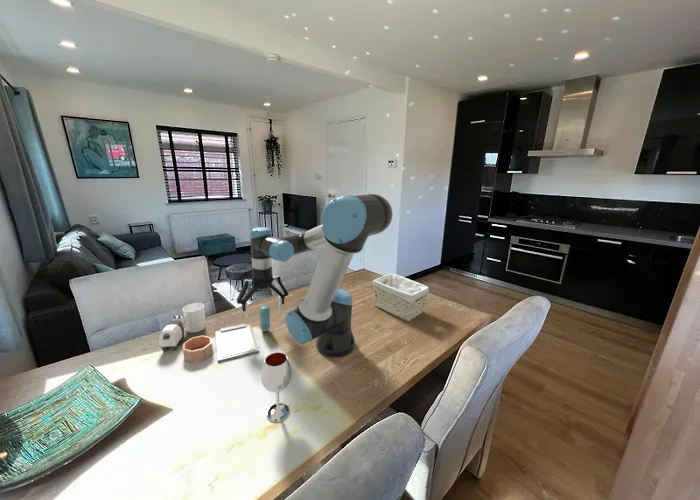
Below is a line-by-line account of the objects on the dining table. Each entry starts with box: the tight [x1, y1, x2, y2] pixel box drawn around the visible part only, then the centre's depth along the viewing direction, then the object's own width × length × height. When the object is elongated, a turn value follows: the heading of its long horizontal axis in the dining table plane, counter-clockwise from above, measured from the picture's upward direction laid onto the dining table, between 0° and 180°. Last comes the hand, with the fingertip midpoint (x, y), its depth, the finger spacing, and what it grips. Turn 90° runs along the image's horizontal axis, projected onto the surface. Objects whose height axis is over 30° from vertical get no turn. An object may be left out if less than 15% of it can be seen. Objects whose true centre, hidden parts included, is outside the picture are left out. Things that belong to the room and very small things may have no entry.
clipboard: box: [214, 323, 260, 363], centre depth 110 cm, size 20×14×2 cm
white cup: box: [182, 302, 206, 334], centre depth 117 cm, size 8×8×10 cm
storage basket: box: [372, 272, 430, 322], centre depth 140 cm, size 24×16×15 cm
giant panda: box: [158, 315, 186, 353], centre depth 108 cm, size 15×6×10 cm, turn 10°
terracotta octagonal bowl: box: [182, 334, 214, 363], centre depth 102 cm, size 9×9×4 cm
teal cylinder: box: [258, 305, 271, 334], centre depth 117 cm, size 4×4×11 cm
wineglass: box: [260, 351, 293, 423], centre depth 77 cm, size 8×8×18 cm
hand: (264, 314), depth 116 cm, fingers open, 13 cm apart
